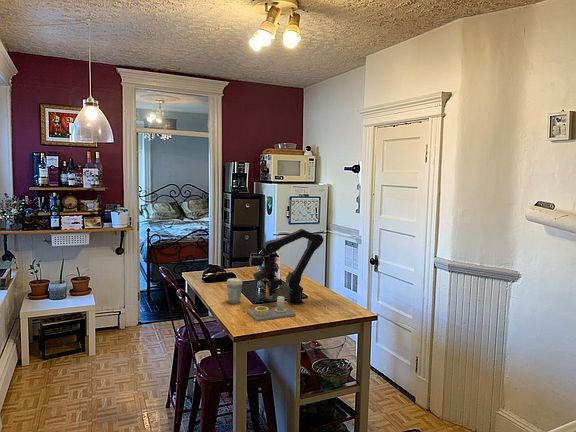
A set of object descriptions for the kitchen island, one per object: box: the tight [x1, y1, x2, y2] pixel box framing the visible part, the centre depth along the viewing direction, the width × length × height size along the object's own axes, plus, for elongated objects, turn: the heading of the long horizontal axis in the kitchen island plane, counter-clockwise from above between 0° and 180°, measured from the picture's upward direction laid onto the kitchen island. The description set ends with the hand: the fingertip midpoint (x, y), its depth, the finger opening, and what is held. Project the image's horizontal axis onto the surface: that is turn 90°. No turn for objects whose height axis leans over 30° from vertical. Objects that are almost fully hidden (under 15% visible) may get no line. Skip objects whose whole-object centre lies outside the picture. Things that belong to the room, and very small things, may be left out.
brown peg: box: [265, 282, 273, 300], centre depth 225 cm, size 4×4×8 cm
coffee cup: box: [225, 277, 243, 305], centre depth 226 cm, size 8×9×12 cm
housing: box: [246, 295, 297, 323], centre depth 209 cm, size 20×13×8 cm, turn 116°
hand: (269, 294), depth 226 cm, fingers closed on brown peg, 3 cm apart
